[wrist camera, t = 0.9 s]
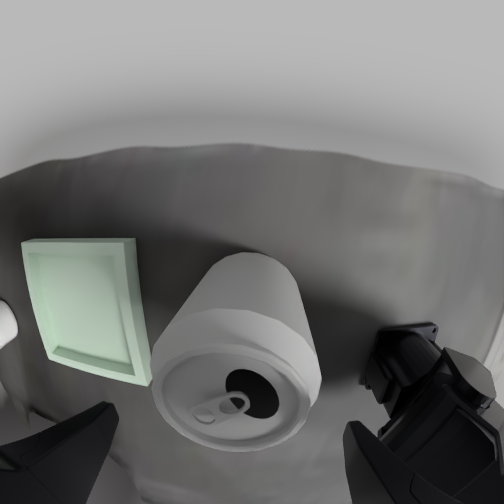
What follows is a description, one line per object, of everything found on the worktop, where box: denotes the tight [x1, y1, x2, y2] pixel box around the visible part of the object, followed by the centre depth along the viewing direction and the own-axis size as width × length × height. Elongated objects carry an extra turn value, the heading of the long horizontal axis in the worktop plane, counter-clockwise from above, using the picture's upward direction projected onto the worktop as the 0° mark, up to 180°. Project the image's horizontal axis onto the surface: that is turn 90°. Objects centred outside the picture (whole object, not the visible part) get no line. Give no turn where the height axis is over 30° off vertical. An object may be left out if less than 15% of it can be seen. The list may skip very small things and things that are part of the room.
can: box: [150, 252, 322, 452], centre depth 15 cm, size 8×8×12 cm
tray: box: [21, 238, 152, 386], centre depth 21 cm, size 13×13×2 cm
